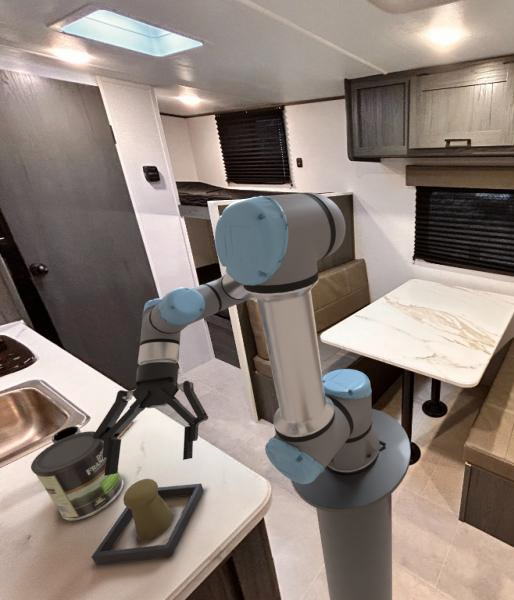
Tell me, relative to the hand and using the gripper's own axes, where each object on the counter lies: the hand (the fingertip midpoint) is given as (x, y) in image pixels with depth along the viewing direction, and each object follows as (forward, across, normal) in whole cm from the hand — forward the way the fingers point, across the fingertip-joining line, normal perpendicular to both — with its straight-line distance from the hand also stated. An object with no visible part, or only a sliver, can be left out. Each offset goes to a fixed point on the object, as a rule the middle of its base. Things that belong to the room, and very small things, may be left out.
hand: (150, 466), depth 65 cm
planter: (-3, +23, -18) cm, 29 cm away
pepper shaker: (+11, 0, -4) cm, 12 cm away
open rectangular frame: (+11, 0, -4) cm, 12 cm away
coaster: (-11, +21, -26) cm, 35 cm away
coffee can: (+4, +15, -11) cm, 19 cm away
